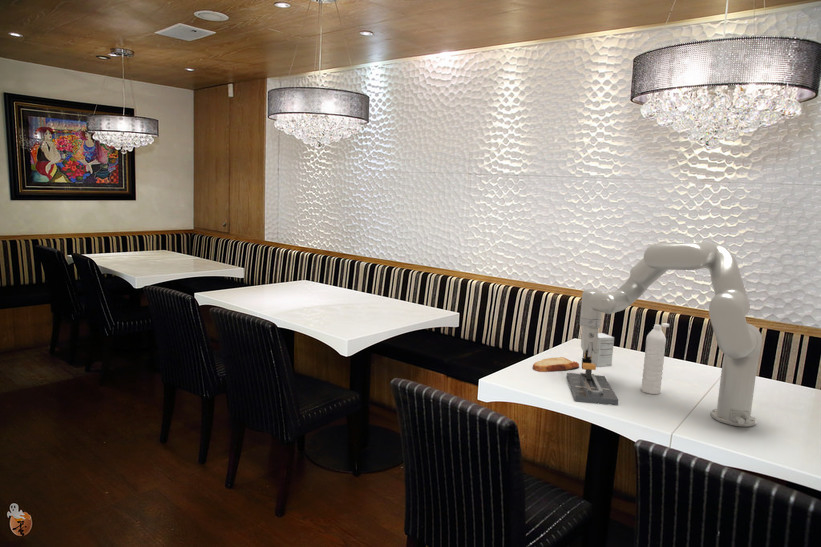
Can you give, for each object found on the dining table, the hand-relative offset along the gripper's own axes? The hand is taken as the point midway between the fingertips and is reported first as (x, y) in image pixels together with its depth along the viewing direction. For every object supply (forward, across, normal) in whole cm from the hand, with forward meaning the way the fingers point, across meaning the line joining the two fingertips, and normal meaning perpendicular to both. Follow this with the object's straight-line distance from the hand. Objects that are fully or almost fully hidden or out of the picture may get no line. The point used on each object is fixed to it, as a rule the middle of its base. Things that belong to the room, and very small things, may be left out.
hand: (586, 368), depth 216 cm
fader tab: (+2, -6, 0) cm, 6 cm away
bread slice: (+5, +13, +10) cm, 17 cm away
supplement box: (+4, +23, -9) cm, 25 cm away
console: (+4, -13, 0) cm, 14 cm away
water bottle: (+4, -7, -23) cm, 24 cm away
